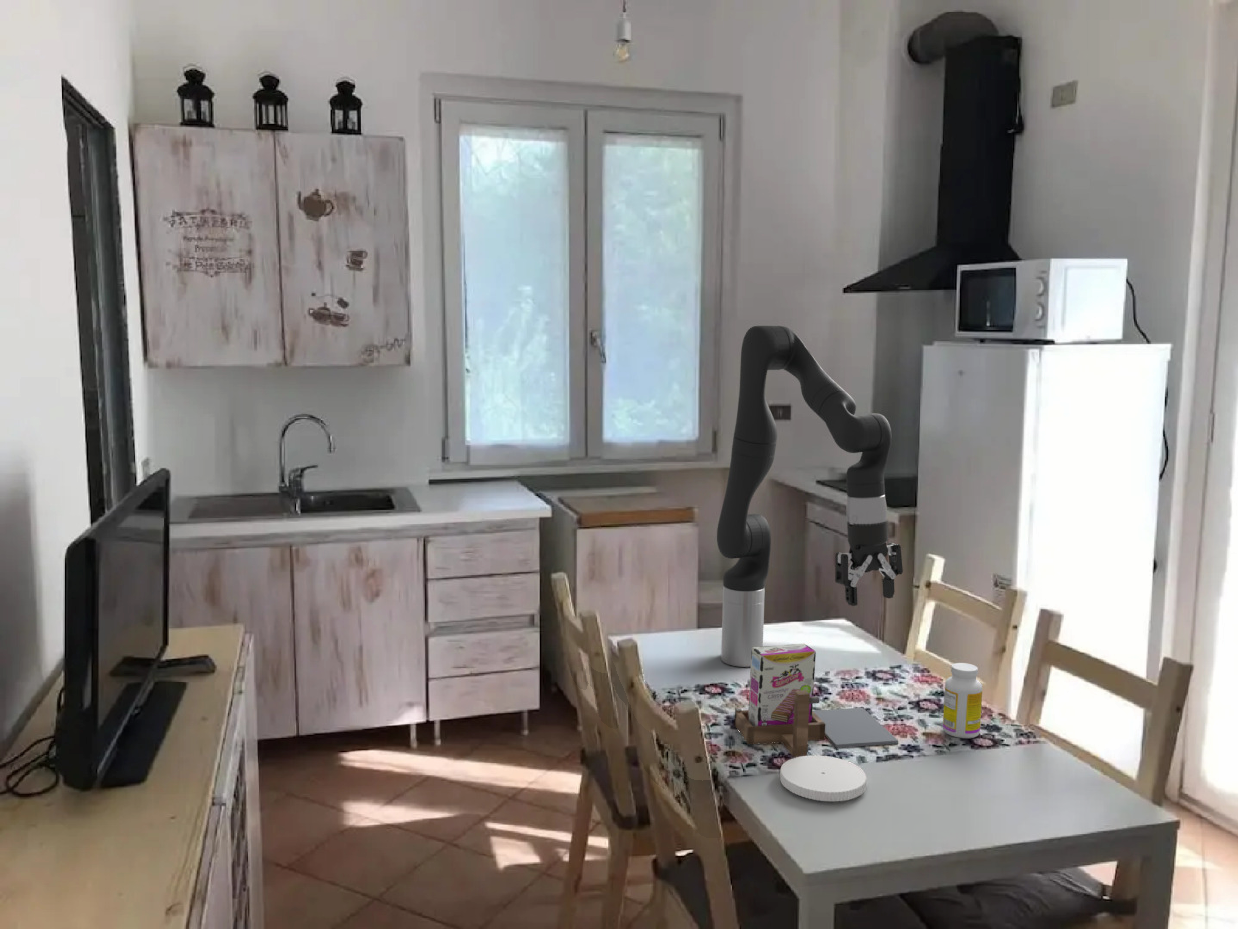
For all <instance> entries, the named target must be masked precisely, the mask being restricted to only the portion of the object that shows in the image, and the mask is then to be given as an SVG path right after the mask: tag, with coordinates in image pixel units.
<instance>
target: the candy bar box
mask: <svg viewBox="0 0 1238 929" xmlns="http://www.w3.org/2000/svg"><path fill="white" fill-rule="evenodd" d="M816 655H817V652H816V650H815V649H813V648H811V647H810V646H808V645H807V644H806V643H796V644H793V643H792V644H780V645H767V646H763V647H753V648H752V652H751V666H750V674H749V675H750V678H749V695H748V697H749V698H748V710H749V713H748V714H749V716H748V721H749V723H750V724H751V725H752V726H768V725H784V724H793V723H794V697H795V691H799V690H806V691H807V692H808V693H809V694H810V697H814V691H815V690H814V689H815V688H814V687H815V673H816V672H815V671H816V669H815V668H816V657H817V656H816ZM813 705H814V704H809V723H812V711H813V708H814V706H813Z"/></svg>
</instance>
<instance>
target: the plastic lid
mask: <svg viewBox="0 0 1238 929" xmlns="http://www.w3.org/2000/svg"><path fill="white" fill-rule="evenodd" d="M779 772H780V773H779V774H780V775H779V777H780V778H779V780H780V782H781V784H782V786H783V787H785V789H786V790H788V791H789V792H790V793H793V794H795V795H798V796H799V797H800V796H801V797H802V798H806V799H809V800H814V801H820V802H839V801H840V802H843V801H849V800H852V799H855V798H858V797H860V796H862V795H863V794H864V793H865V791H866V789H867V780H868V778H867V774H866V772H865V771H864V770H863V769H862V768H861V767H860V766H858V765H857V764H855V763H853V762H850V761H848V760H845V759H843V758H839V757H838V758H837V757H835V756H834V757H833V756H829V755H827V756H826V755H821V754H820V755H817V754H816V755H815V754H814V755H810V754H809V755H807V756H802V757H801V756H800V757H796V758H794V757H793V758H790V759H788V760H786V761H784V762H783V764H781V767H780V771H779Z"/></svg>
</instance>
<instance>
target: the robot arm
mask: <svg viewBox="0 0 1238 929" xmlns="http://www.w3.org/2000/svg"><path fill="white" fill-rule="evenodd" d="M740 351H741V352H740V367H739V368H740V369H739V392H738V393H739V394H738V404H737V412H736V413H737V414H736V420H735V425H734V431H733V439H732V446H731V455H730V464H729V469H728V470H729V472H728V477H727V483H726V489H725V495H724V499H723V503H722V507H721V511H720V515H719V520H718V523H717V527H716V528H717V529H716V543H717V548H718V550H719V552H720V554H721V555H722V556H723V557H724V558H727V559H730V560H731V559H738V560H737V561H736V563H735V564H734V565H733V566H732V567H731V568H729V569H728V570H726V571H725V572H724V573H723V579H722V580H723V581H722V618H721V621H722V624H721V647H720V649H721V650H720V651H721V653H720V656H721V657H720V660H721V662H723V663H724V664H726V665H730V666H734V667H740V668H741V667H742V668H743V667H744V668H748V667H750V668H751V652H752V648H753V647H764V627H765V626H764V623H765V622H764V621H765V620H764V619H765V618H764V617H765V594H766V593H765V588H766V580H767V577H768V574H769V571H770V559H771V550H772V548H771V547H772V532H771V528H770V524H769V522H768V521H767V519H766V518H765V517H764V516H763V515H761V514H758V513H750V514H748V513H749V508H750V504H751V502H752V500H753V497H754V495H755V493H756V492H757V491H758V488H759V487H760V486H761V484H762V483H763V481H764V480H765V478H766V476H767V474H769V472H770V469H771V468H772V466H773V464H774V460H775V455H776V449H777V441H778V428H777V424H776V421H775V418H774V416H773V414H772V412H771V409H770V407H769V405H768V401H767V397H766V396H767V395H766V381H767V373H768V371H780V370H783V371H786V372H787V373H789V374H791V375H792V376H793V377H794V378H796V380H798V382H799V384H800V390H801V395H802V397H803V400H804V401H805V403H806V404H807V406H808V407H809V408H810V409H811V410H812V412H814V413H815V414H816V415H817V416H818V417H819V418H820V419H821V420H822V421H823V422H824V423H825V425H826V427H827V429H828V431H829V433H830V435H831V436H832V439H833V440H834V442H835V444H836V445H837V447H838V448H840V449H842V450H843V451H845V452H847V453H850V454H858V453H861V456H860V459H859V460H858V462H856V463H854V464H852V465H851V466H848V468H847V470H846V476H845V477H846V478H845V479H846V496H847V497H846V508H845V509H846V528H847V529H846V530H847V531H846V532H847V542H848V544H849V550H848V552H838V551H837V552H836V553H835V556H834V559H835V560H834V561H835V563H834V567H835V569H834V571H835V573H834V574H835V575H834V578H835V580H834V581H835V583H836V584H839V585H842V586H844V592H845V602H846V603H847V604H848V605H849V606H852V607H855V606H858V587H857V586H856V585H857V583H858V582H859V580H860V579H861V578H862V577H863V575H864V574H865V573H869V572H872V571H879V573H880V574H881V575H882V577H883V578H882V579H881V580H882V595H883V597H884V598H886V599H892V598H894V595H895V592H896V591H895V579H896V576H898V575H902V574H903V572H904V569H903V568H904V567H903V557H902V547H901V545H900V544H898V543H894V542H889V543H888V541H889V530H888V508H887V507H888V506H887V501H886V500H887V499H886V488H885V471H886V466H887V463H888V458H889V455H890V454H889V453H890V449H891V446H892V438H893V436H892V428H891V425H890V423H889V421H888V420H887V418H886V416H884V415H883V414H880V413H876V412H872V413H866V414H865V413H864V414H858V415H857V414H856V415H855V413H856V410H857V404H856V402H855V399H854V398H853V396H851V395H850V394H849V393H848V392H847V391H846V390H845V389H843V388H842V387H841V386H840V384H838V383H837V382H836V381H834V379H833V378H831V376H830V375H829V374H827V372H826V371H825V370H824V369H823V368H822V367H821V365H820V364H819V362H818V361H817V360H816V359H815V357H814V355H812V353H811V351H809V349H808V348H807V346H806V344H805V343H804V342H803V340H801V338H800V337H799V335H798V334H796V332H795V331H794V330H793V329H791V328H790V327H788V326H785V325H784V326H783V325H755V326H751V327H750V328H749V329H747V331H746V333H745V334H744V337H743V339H742V344H741V350H740ZM887 543H888V544H887ZM887 555H888V560H887V559H886V558H887ZM856 569H857V570H856Z"/></svg>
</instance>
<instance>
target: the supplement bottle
mask: <svg viewBox="0 0 1238 929" xmlns="http://www.w3.org/2000/svg"><path fill="white" fill-rule="evenodd" d="M950 672H951V676H949V677H948V678H947V679H946V680H945V682H944V697H943V715H942V716H943V717H942V729H943V731H944V732H945V734H947V735H949V736H951V737H954V738H960V739H973V738H977V737H978V736H979V735H980V732H981V721H982V720H981V718H982V701H983V700H982V699H983V685H982V683H981V682H980V681H979V679H977V677H978V675H979V668H978V666H976V665H974V664H971V663H967V662H966V663H965V662H957V663H956V662H955V663H952V665H951V669H950Z"/></svg>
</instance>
